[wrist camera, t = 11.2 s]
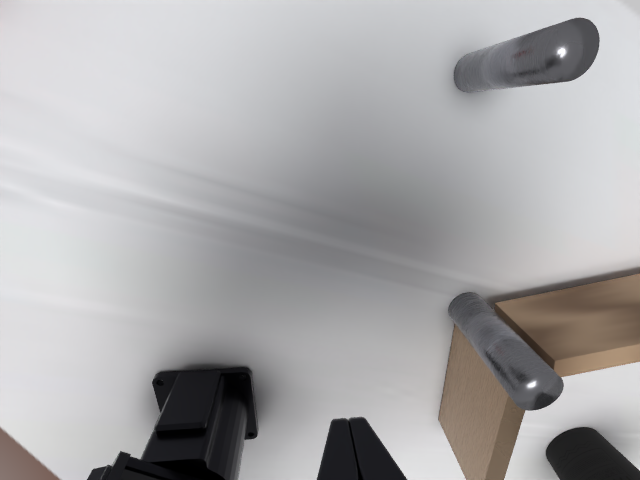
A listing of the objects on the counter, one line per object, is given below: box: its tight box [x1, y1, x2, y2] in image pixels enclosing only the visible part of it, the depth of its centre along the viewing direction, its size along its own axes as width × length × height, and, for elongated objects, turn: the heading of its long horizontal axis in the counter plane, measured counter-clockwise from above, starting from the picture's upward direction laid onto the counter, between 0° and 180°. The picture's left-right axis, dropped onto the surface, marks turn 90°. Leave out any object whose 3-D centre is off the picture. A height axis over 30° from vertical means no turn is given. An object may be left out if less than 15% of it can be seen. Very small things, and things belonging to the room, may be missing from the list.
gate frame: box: [438, 18, 599, 480], centre depth 18 cm, size 26×4×7 cm, turn 1°
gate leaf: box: [495, 274, 640, 377], centre depth 19 cm, size 12×1×5 cm, turn 101°
